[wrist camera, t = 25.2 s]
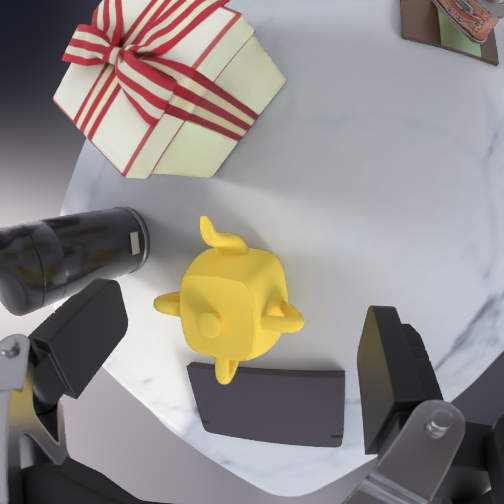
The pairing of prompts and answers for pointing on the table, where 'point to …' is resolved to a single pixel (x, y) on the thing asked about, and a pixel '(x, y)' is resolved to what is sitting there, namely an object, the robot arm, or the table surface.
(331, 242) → the table surface
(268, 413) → the notebook
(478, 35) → the lighter
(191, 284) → the teapot
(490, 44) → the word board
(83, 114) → the gift box
